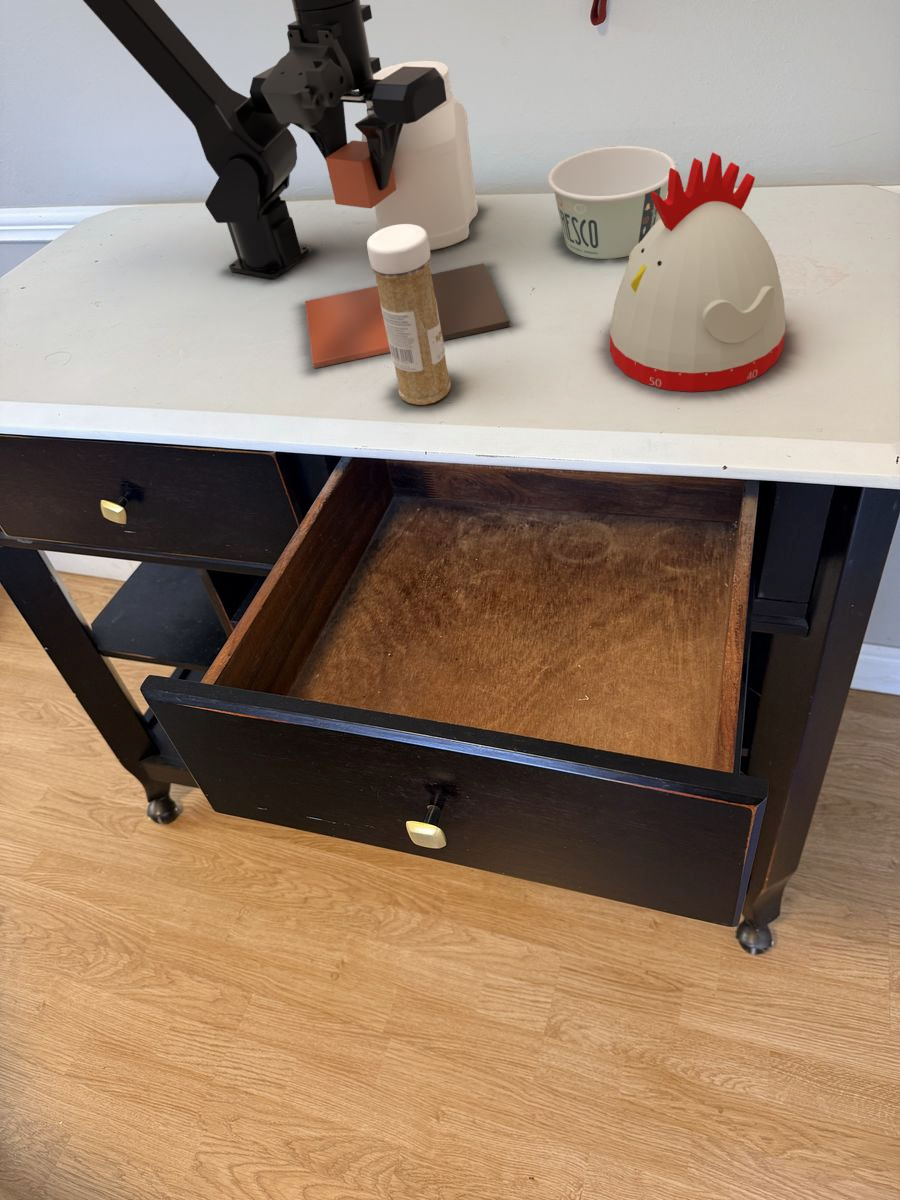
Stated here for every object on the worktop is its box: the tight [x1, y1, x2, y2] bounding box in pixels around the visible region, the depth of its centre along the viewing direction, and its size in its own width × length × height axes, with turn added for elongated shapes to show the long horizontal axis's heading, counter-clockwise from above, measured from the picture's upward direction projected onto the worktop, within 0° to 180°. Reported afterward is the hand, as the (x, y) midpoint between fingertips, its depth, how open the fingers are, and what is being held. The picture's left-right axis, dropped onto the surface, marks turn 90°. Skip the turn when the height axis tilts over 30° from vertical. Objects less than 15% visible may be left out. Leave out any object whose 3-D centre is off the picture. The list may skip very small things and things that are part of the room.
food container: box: [547, 145, 677, 260], centre depth 88 cm, size 12×12×6 cm
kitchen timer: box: [609, 152, 786, 393], centre depth 70 cm, size 14×14×15 cm
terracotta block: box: [325, 140, 396, 209], centre depth 87 cm, size 4×4×4 cm
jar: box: [361, 60, 479, 251], centre depth 93 cm, size 12×10×15 cm
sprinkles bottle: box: [366, 224, 452, 406], centre depth 71 cm, size 5×5×14 cm
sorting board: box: [304, 262, 511, 369], centre depth 85 cm, size 18×12×1 cm, turn 100°
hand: (363, 186), depth 88 cm, fingers closed on terracotta block, 4 cm apart
